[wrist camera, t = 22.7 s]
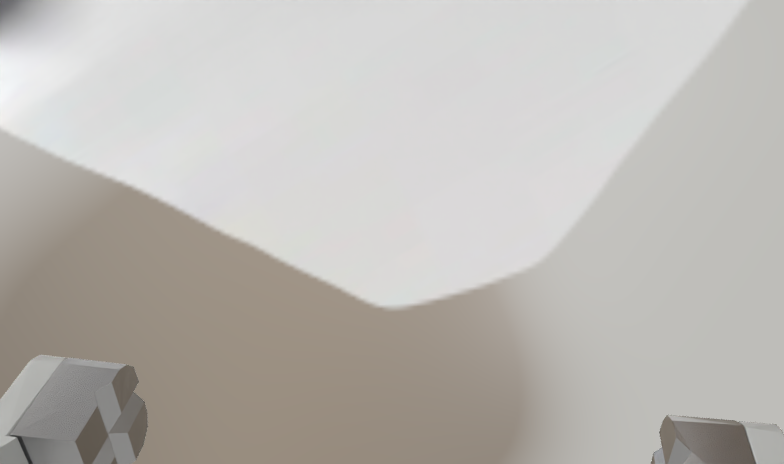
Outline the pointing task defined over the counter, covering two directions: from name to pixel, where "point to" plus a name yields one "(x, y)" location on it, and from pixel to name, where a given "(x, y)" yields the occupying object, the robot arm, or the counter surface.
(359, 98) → the counter surface
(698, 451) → the robot arm
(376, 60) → the counter surface
